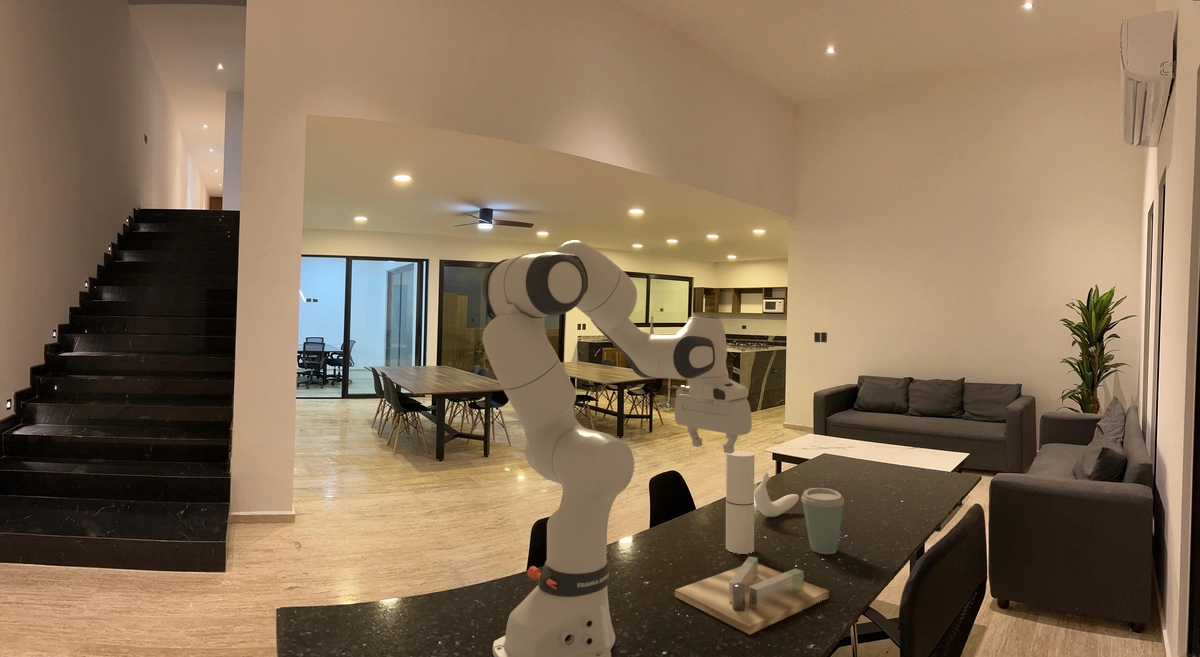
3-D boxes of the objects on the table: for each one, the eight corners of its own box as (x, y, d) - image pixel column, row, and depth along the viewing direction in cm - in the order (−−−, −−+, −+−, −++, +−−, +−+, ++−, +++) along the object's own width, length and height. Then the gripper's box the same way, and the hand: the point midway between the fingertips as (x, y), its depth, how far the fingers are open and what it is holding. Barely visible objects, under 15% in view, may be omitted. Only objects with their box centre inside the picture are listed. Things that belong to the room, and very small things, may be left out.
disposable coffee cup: (848, 559, 151) (848, 499, 151) (803, 555, 153) (803, 496, 153) (840, 544, 162) (840, 488, 162) (798, 541, 164) (798, 486, 164)
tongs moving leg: (743, 612, 119) (743, 588, 119) (724, 608, 121) (724, 585, 121) (765, 577, 136) (765, 556, 136) (748, 573, 138) (748, 553, 138)
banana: (799, 512, 190) (800, 465, 190) (764, 524, 178) (764, 474, 178) (786, 508, 194) (786, 462, 194) (750, 520, 181) (750, 471, 181)
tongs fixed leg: (756, 610, 120) (756, 589, 120) (748, 606, 122) (748, 586, 122) (803, 590, 130) (803, 571, 130) (795, 586, 131) (795, 568, 131)
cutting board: (749, 634, 114) (749, 626, 114) (674, 596, 130) (674, 589, 130) (828, 597, 129) (828, 590, 129) (753, 568, 145) (753, 561, 145)
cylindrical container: (734, 555, 153) (734, 456, 153) (721, 546, 160) (721, 451, 160) (759, 553, 155) (759, 455, 155) (745, 543, 162) (745, 450, 162)
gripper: (666, 386, 141) (670, 445, 142) (734, 393, 125) (738, 459, 126) (685, 382, 145) (689, 439, 146) (754, 389, 129) (758, 453, 130)
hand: (712, 449), depth 136 cm, fingers open, 8 cm apart
